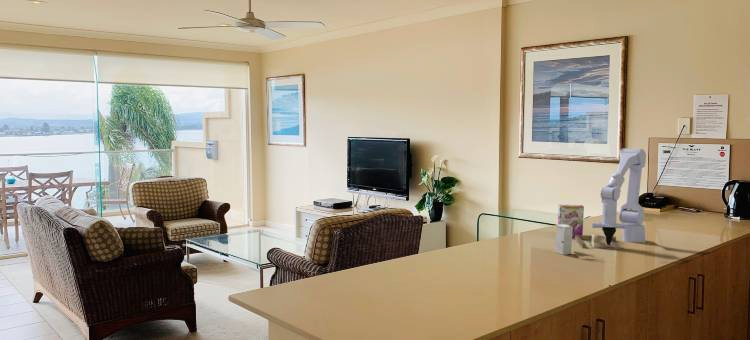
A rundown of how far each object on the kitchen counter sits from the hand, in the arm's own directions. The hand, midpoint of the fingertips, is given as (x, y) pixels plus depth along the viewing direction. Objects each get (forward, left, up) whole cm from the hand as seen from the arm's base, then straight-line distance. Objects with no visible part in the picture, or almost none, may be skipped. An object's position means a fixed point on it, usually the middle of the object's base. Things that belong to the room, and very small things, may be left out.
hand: (608, 244), depth 260 cm
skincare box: (+21, +12, -2) cm, 24 cm away
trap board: (+3, -5, -2) cm, 6 cm away
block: (+4, 0, -1) cm, 4 cm away
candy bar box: (+13, -23, -2) cm, 26 cm away
